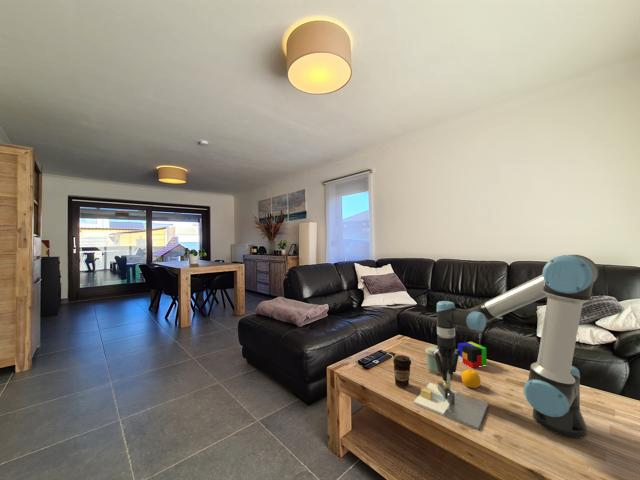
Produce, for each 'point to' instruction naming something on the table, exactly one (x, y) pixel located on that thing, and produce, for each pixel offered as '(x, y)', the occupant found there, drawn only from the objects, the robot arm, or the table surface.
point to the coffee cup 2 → (431, 360)
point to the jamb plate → (467, 410)
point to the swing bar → (443, 388)
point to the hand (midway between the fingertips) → (447, 387)
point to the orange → (471, 378)
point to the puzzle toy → (472, 354)
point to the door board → (432, 399)
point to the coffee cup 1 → (402, 370)
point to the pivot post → (450, 397)
